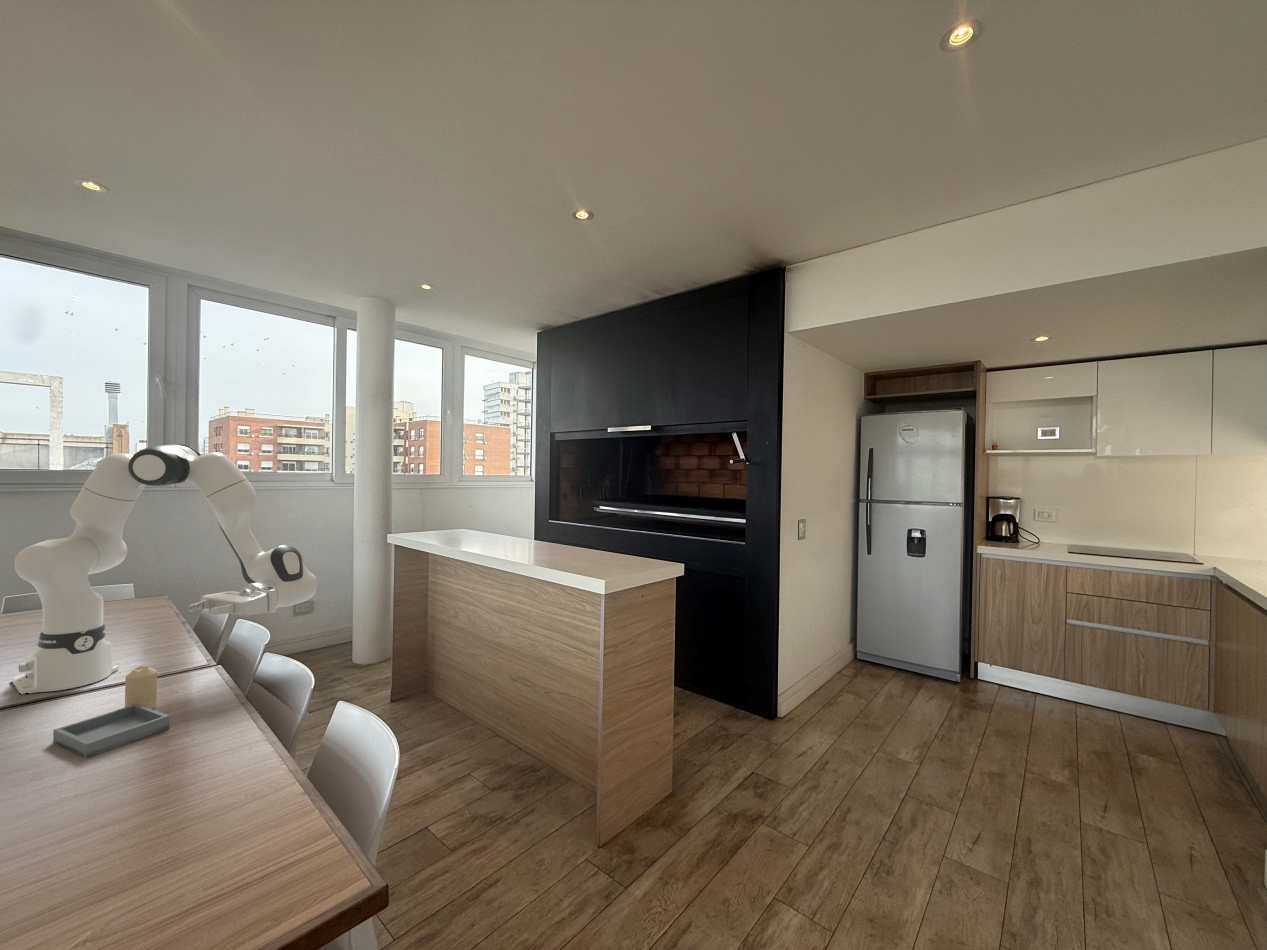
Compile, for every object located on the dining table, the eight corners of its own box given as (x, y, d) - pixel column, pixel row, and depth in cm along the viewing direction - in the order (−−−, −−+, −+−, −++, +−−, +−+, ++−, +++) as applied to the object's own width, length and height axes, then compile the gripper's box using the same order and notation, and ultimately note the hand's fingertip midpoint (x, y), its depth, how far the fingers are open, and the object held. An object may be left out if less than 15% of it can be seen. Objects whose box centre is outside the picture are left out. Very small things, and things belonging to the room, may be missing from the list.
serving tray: (53, 743, 108) (53, 729, 108) (136, 715, 120) (136, 703, 120) (86, 758, 102) (86, 744, 102) (169, 728, 115) (169, 715, 115)
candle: (161, 706, 125) (162, 665, 125) (133, 716, 120) (134, 673, 120) (147, 702, 127) (148, 662, 127) (119, 712, 122) (120, 670, 122)
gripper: (235, 583, 151) (178, 594, 138) (278, 589, 142) (221, 601, 130) (236, 605, 151) (178, 618, 138) (279, 612, 142) (222, 626, 130)
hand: (199, 610), depth 134 cm, fingers open, 8 cm apart
